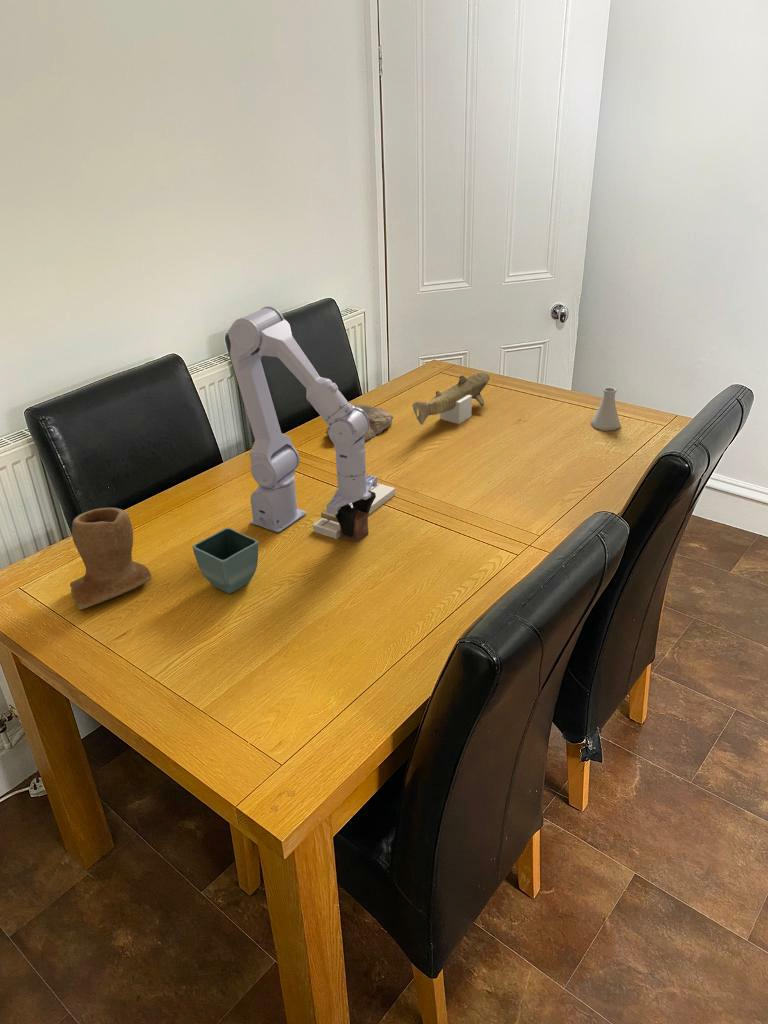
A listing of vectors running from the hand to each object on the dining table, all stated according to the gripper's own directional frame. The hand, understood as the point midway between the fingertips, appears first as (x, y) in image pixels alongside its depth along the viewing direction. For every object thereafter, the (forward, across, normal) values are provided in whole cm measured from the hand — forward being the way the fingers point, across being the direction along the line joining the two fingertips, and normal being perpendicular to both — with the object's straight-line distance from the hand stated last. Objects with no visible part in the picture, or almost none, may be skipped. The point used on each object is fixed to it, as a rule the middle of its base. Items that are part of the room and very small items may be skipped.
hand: (354, 529), depth 165 cm
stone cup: (+2, -39, +29) cm, 49 cm away
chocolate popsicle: (+2, 0, +3) cm, 3 cm away
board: (+1, +8, +5) cm, 10 cm away
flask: (+2, +78, -24) cm, 82 cm away
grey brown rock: (+2, +43, +30) cm, 52 cm away
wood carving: (+2, +61, +12) cm, 62 cm away
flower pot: (+2, -26, +10) cm, 28 cm away
